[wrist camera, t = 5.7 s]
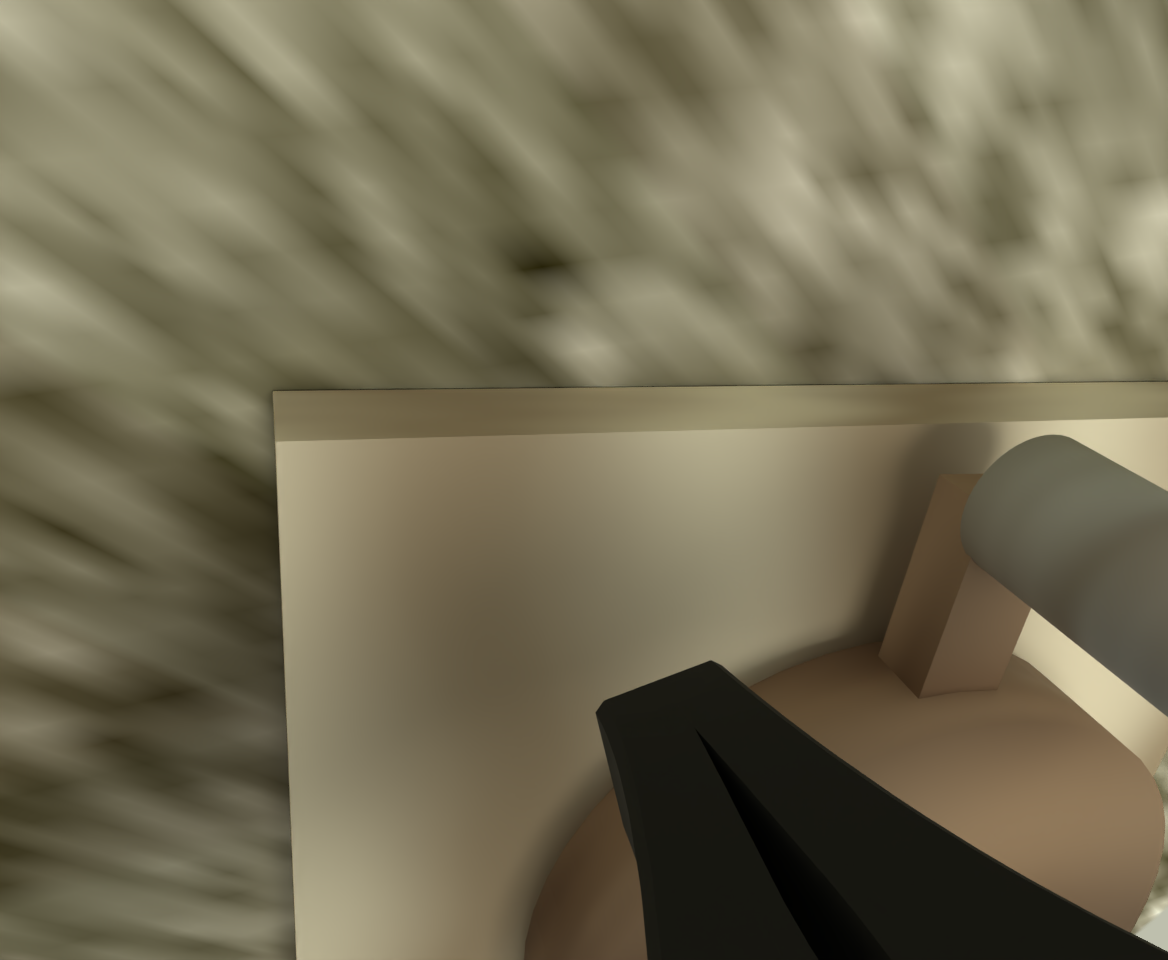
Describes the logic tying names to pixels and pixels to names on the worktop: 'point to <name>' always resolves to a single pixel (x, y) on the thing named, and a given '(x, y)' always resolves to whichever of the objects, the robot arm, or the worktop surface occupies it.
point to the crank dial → (969, 697)
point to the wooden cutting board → (593, 604)
